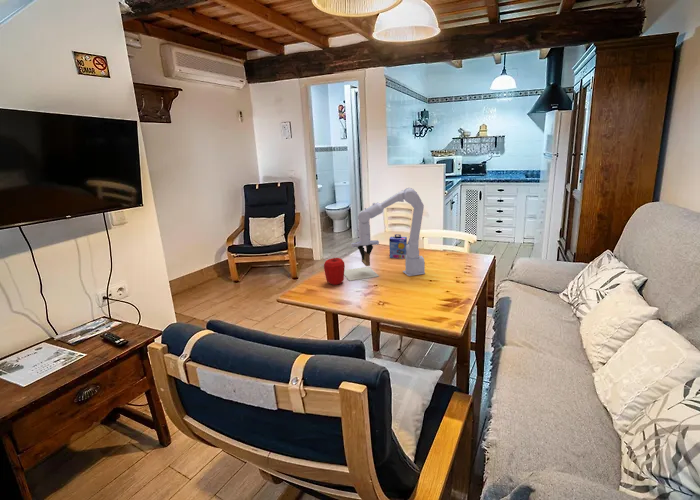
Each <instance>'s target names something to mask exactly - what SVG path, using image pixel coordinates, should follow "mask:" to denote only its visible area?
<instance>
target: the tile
mask: <svg viewBox="0 0 700 500" xmlns="http://www.w3.org/2000/svg"><path fill="white" fill-rule="evenodd" d="M361 263H362V264H364V266H365V267H370V266H371V253H370V254H368V253H367V251H366V250H364V260H363V259H362V258H361Z"/></svg>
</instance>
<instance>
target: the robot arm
mask: <svg viewBox="0 0 700 500" xmlns="http://www.w3.org/2000/svg"><path fill="white" fill-rule="evenodd" d="M398 202H399V203H400V202H401V203H404V202H406V203H407V204H409V205H411V206H412V208H413V211H412V212H413V213H412V218H411V225H410V232H409V237H408V240H407V245H406V251H407V255H406V256H405V261H404V262H405V264H404V265H405V270H402V272H403V274H405V275H406V276H407V277H412V276H418V275H425V274H426V272H425V271H426V269H425V262H426V261H425V258H424V256H423V255H420V250H419V241H420V233H421V226H422V219H423V213H424V207H425V206H424V203H423V201H422V199H421V197H420V195H419V194H418V192H417V191H415V189H414V188H412V187H408V188H407V187H406V188H405V189H404V190H403V189H402V190H400V191H398V192H397V193H395V194H393V195H392V196H390V197H388V198H387V199H385V200H383V201H381V202H373V203H372V204H371V205H369V207H367V208H366V207H365V208H364V210H363V209H362V210H361V211H359V213H358V215H357V219H358V238H359V241H356V242H351V243H350V247H351V248H352V249H354V248H357V249H358V251H359V253H360V255H361V260H362V259H363V260H364V251H366V252H367V253H368V254H370V255H371V253H372V250H373V249H374V246H375V245H380V241H379V240H378V239H377V240H371V224H370V219H374V218H375V217H377V216H379V215H381V214H382V213H383V212H384V210H385V209H386V208H388V207H390V206H392V205H393V204H395V203H398Z"/></svg>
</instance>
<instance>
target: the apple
mask: <svg viewBox="0 0 700 500" xmlns="http://www.w3.org/2000/svg"><path fill="white" fill-rule="evenodd" d="M323 270H324V275H325V280H326V281H327V283H329V284H330V285H333V286H337V285H341V284H342V283H343V281H344V279H345V275H344V270H345V261H344V260H343V259H342V258H341V257H333V258H328V259H327V260H325V262H324V263H323Z"/></svg>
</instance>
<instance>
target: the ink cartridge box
mask: <svg viewBox="0 0 700 500" xmlns="http://www.w3.org/2000/svg"><path fill="white" fill-rule="evenodd" d="M407 244H408V237H407V236H402V235H401V234H394V236H390V237H389V245H388V246H389V259H401V260H403V259H405V256H406V255H407V251H406V245H407Z"/></svg>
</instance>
